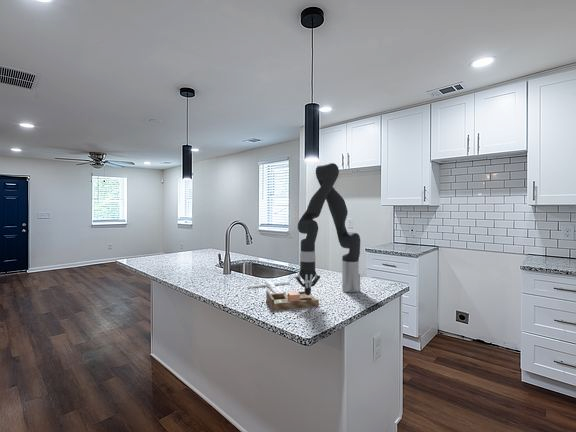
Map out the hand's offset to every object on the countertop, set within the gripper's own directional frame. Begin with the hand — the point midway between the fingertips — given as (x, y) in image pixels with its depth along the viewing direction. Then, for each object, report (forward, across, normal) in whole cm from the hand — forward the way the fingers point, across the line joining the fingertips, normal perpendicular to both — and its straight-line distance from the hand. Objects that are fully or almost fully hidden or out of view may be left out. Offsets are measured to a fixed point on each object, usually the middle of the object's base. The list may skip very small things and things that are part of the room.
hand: (307, 294), depth 151 cm
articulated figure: (+5, +11, -30) cm, 32 cm away
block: (+2, +7, +1) cm, 8 cm away
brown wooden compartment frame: (+5, +7, -4) cm, 9 cm away
